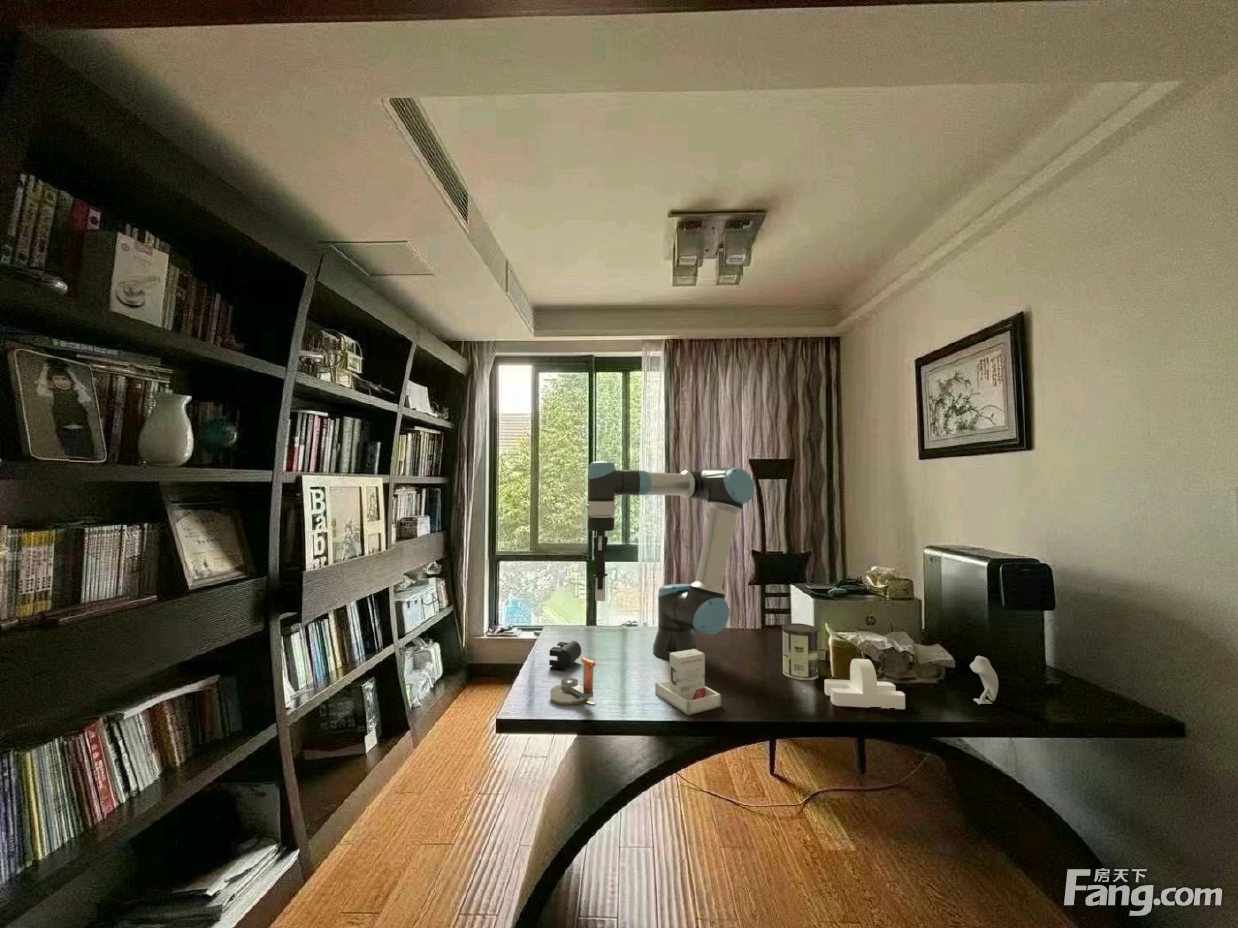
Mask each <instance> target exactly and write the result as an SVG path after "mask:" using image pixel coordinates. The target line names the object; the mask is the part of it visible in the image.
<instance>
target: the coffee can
mask: <svg viewBox="0 0 1238 928" xmlns="http://www.w3.org/2000/svg"><path fill="white" fill-rule="evenodd" d="M781 628H782V629H781V630H782V673H783V675H784V676H785V677H788V678H791V679H793V680H798V681H799V680H800V681H813V680H817V679H819V669H818V668H819V667H818V666H819V665H818V664H819V663H818V661H819V660H818V659H819V658H818V654H819V653H818V651H819V649H818V632H819V629H818V628H817V627H816V626H814V625H811V624H805V623H800V622H799V623H798V622H797V623H795V622H793V623H789V622H788V623H784V624H783V625H782V626H781Z"/></svg>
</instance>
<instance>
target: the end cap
mask: <svg viewBox="0 0 1238 928" xmlns="http://www.w3.org/2000/svg"><path fill="white" fill-rule="evenodd" d="M581 655H582V646H581V645H580V643H579V642H578V641H576V640H573V639H572V640H571V641H570V642H563V641H559V642H558V643H557V644H556V646H553V647H551V648H550V649H549V657H556V659H548V660H549V662H548V663H549V664H548V665H549V666H550V667H549V670H550V671H557V672H564V671H566V670H567V669H568V668H570V666H571V665H572V664H573V663H575V662H576V661H577V660H578V659H579V657H580V656H581Z"/></svg>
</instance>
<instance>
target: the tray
mask: <svg viewBox="0 0 1238 928" xmlns="http://www.w3.org/2000/svg"><path fill="white" fill-rule="evenodd" d="M654 684H655V687H654V689H655V691H654V692H655V693H654V694H655V695H656V696H657V697H659V698H661V699H662V700H664V701H665V702H666V703H668V704H671V705H672V706H673V707H675V708H676V709H678V710H679V711H681V712H682V713H684V714H686V715H687V716H690V715H693V714H696V713H701V712H706V711H708V710H713V709H717V708H721V707H722V694H721V693H719V692H717V691H715V690H713V689H711V688H710V687H708V686H706V685H705V697H703V698H699V699H695V700H690V701H688V700H686V699H685V698H683V697H681V696H680V695H678V694H676V693H675V692H673V691H671V690H670V689H669V679H668V680H667V679H666V680H663V681H659V682H655V683H654Z"/></svg>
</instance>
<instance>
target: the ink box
mask: <svg viewBox="0 0 1238 928" xmlns="http://www.w3.org/2000/svg"><path fill="white" fill-rule="evenodd" d="M705 675H706V654H705V653H704V652H702V651H700V650H699V649H698V650H696V649H691V650H685V651H678V652H672V653H670V659H669V677H668V678H669V679H668V680H669V689H670V690H671V691H673V692H675V693H676V694H678V695H680V696H681V697H683V698H685V699H686V700H688V701H690V700H695V699H699V698H703V697H705V686H706V685H705V684H706V683H705V681H706V680H705V679H706V676H705Z"/></svg>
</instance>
